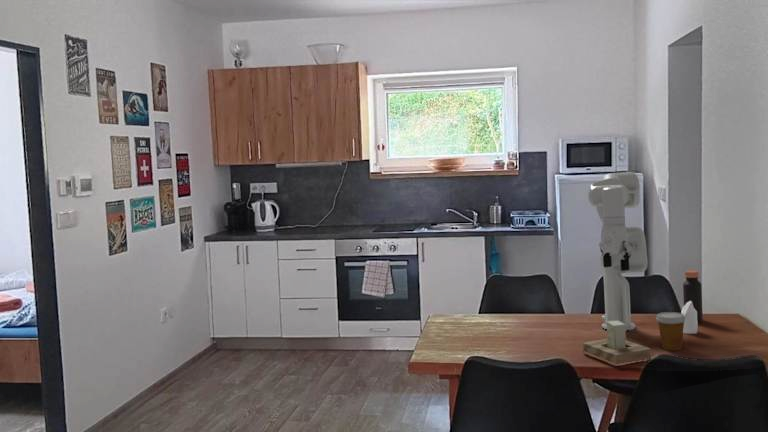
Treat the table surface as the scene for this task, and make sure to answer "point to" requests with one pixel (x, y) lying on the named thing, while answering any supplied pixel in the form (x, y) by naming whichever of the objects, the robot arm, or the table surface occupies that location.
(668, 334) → the disposable coffee cup
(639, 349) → the socket block
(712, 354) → the table surface
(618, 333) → the skincare box
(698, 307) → the bottle
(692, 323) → the white house shaped block
